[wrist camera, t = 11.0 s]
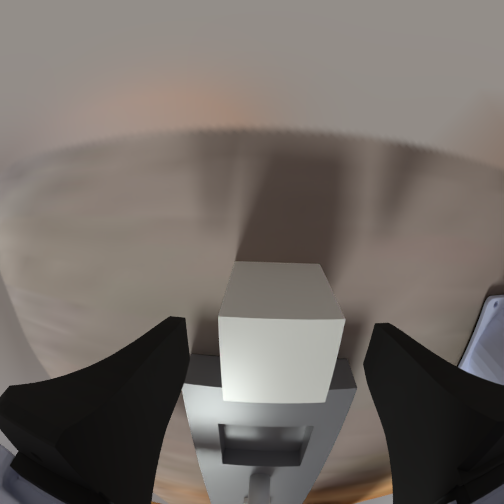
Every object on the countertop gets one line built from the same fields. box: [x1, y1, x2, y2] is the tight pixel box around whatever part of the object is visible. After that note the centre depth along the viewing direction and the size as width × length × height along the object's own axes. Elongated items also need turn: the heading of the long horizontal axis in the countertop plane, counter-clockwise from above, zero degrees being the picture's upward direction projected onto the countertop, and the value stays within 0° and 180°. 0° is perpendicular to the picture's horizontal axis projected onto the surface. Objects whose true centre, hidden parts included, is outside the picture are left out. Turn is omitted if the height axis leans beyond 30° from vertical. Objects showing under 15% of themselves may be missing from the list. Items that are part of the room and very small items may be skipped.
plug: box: [218, 261, 345, 403], centre depth 11 cm, size 4×4×5 cm
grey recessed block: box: [182, 354, 357, 504], centre depth 16 cm, size 9×22×6 cm, turn 179°
